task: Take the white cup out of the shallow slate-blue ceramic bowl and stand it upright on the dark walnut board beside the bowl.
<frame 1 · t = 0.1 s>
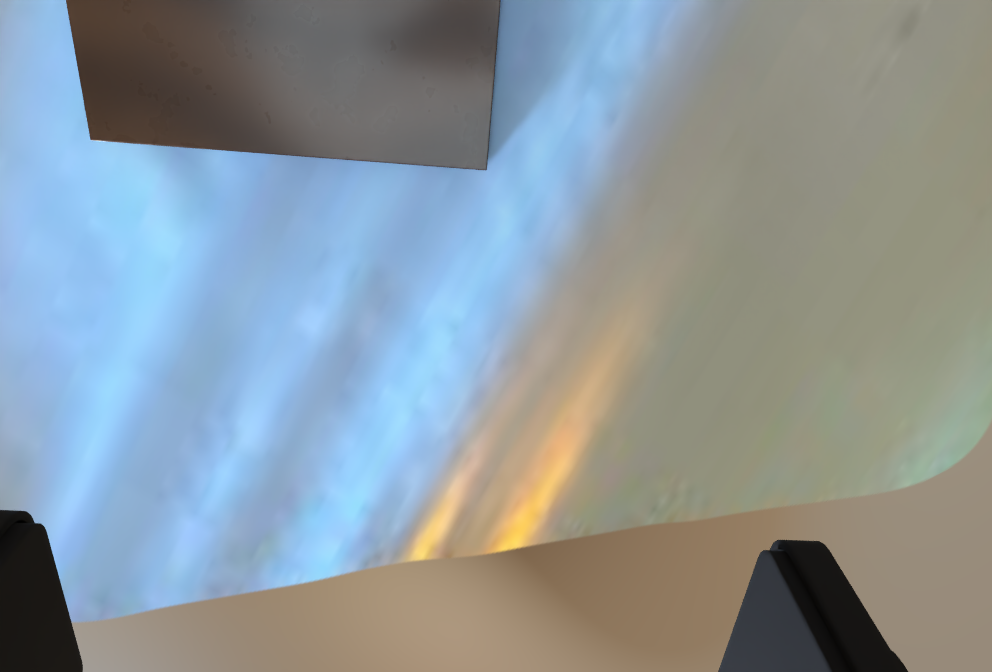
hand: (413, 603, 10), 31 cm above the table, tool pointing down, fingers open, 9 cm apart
board: (290, 5, 34), on the table
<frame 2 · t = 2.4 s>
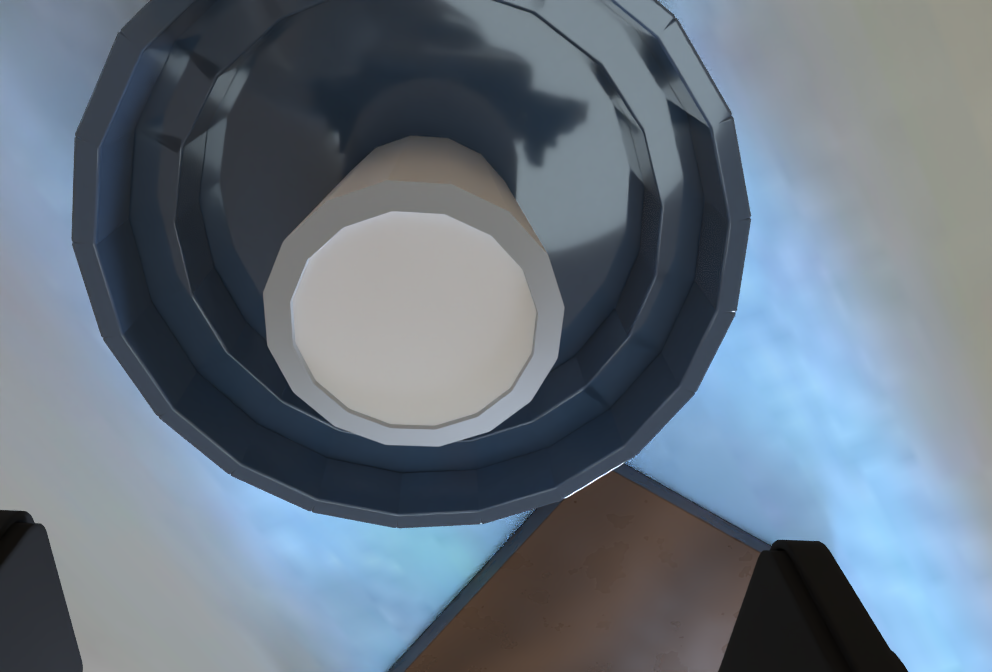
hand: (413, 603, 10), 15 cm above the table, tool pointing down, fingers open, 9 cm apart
white cup: (426, 223, 23), resting on bowl
board: (576, 659, 33), on the table
bowl: (426, 222, 23), on the table
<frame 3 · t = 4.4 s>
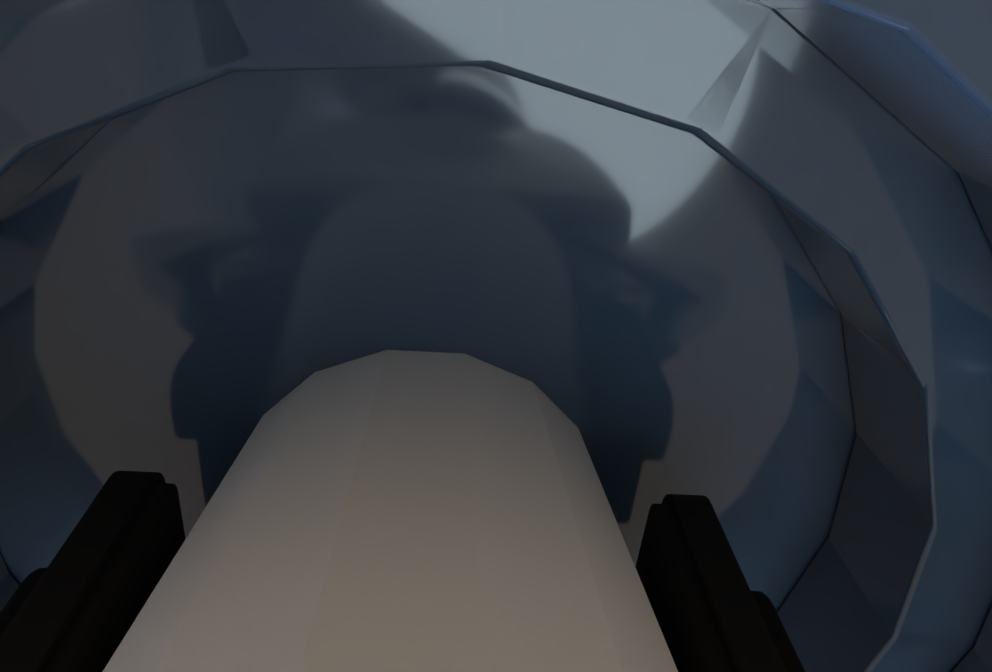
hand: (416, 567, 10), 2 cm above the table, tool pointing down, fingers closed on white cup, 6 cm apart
white cup: (420, 494, 12), resting on bowl, touching gripper
bowl: (421, 489, 12), on the table
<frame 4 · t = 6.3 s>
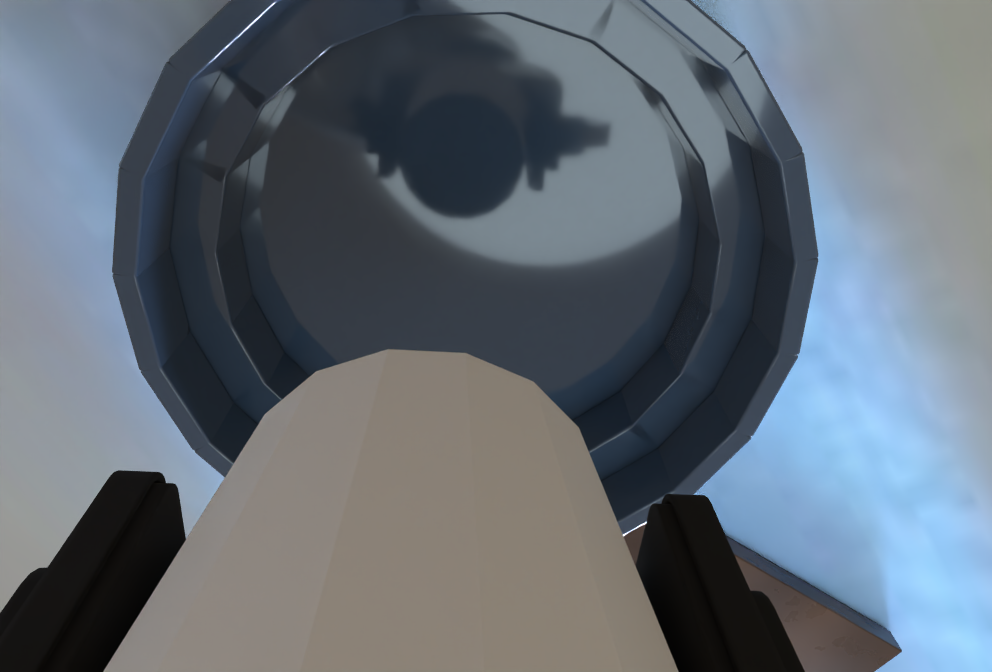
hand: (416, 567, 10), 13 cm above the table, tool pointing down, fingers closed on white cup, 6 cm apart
white cup: (421, 493, 12), point 12 cm above the table, touching gripper
bowl: (471, 252, 22), on the table
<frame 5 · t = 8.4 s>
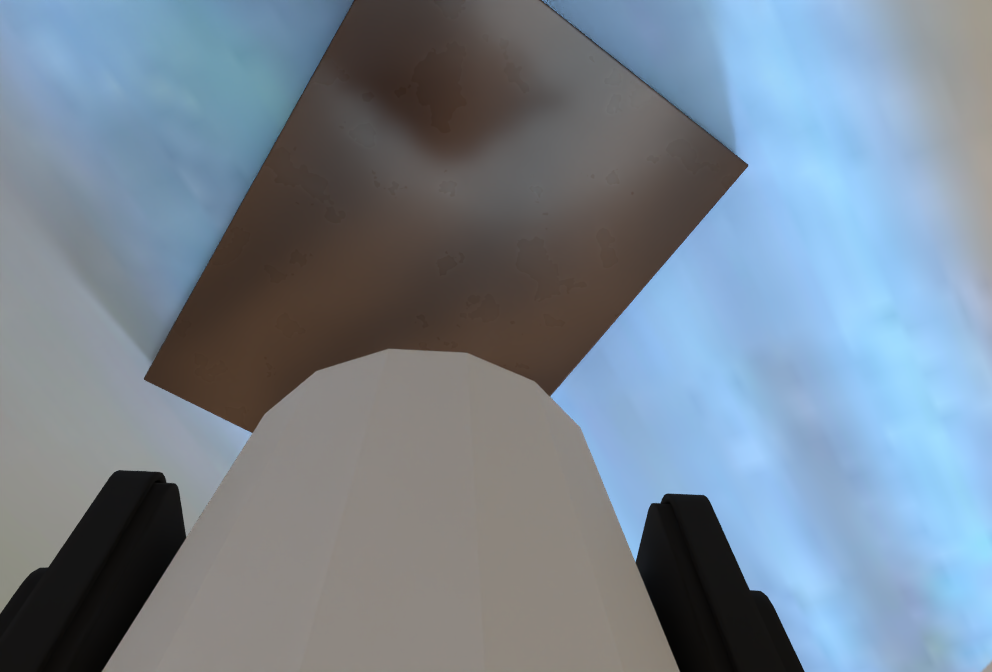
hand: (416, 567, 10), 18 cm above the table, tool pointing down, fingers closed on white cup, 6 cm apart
white cup: (422, 493, 12), point 17 cm above the table, touching gripper
board: (429, 268, 28), on the table
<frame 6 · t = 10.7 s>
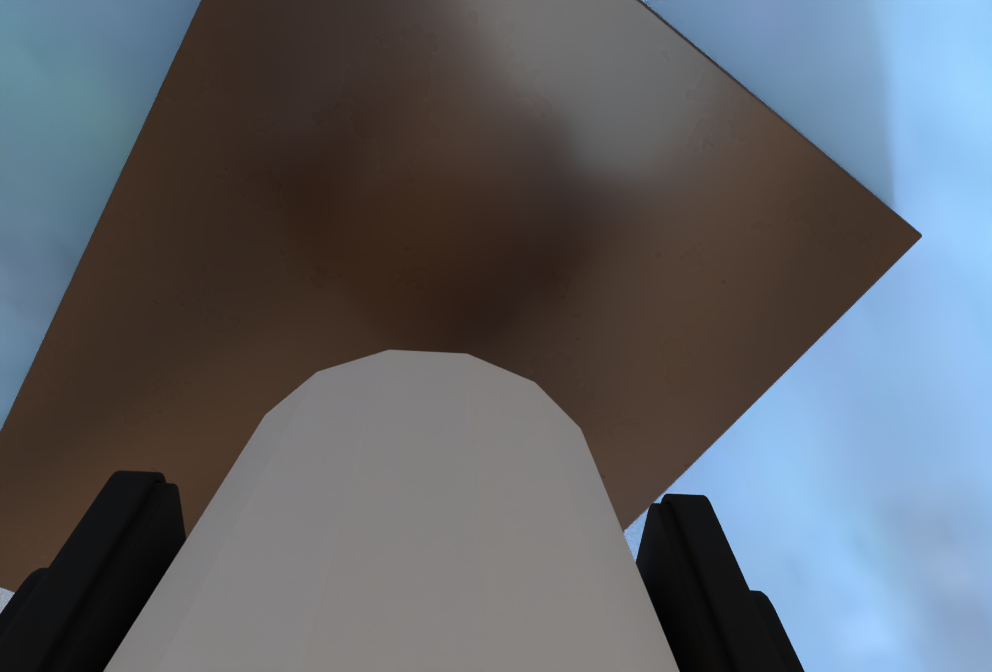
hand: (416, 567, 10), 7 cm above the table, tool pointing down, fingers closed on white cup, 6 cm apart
white cup: (422, 494, 12), point 6 cm above the table, touching gripper
board: (388, 392, 17), on the table
when the fingers open (2 cm above the table, at t = 12.4 s): white cup stays where it is, resting on board.
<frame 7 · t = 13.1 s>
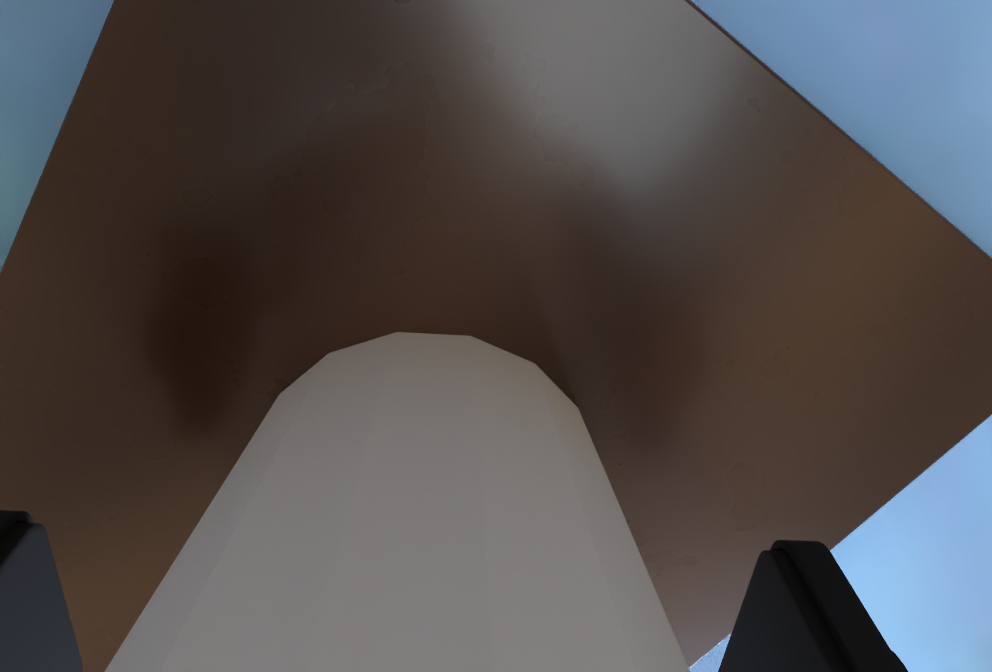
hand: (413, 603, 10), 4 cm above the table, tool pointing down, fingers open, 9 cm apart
white cup: (428, 472, 12), point 1 cm above the table, touching board
board: (374, 517, 14), on the table
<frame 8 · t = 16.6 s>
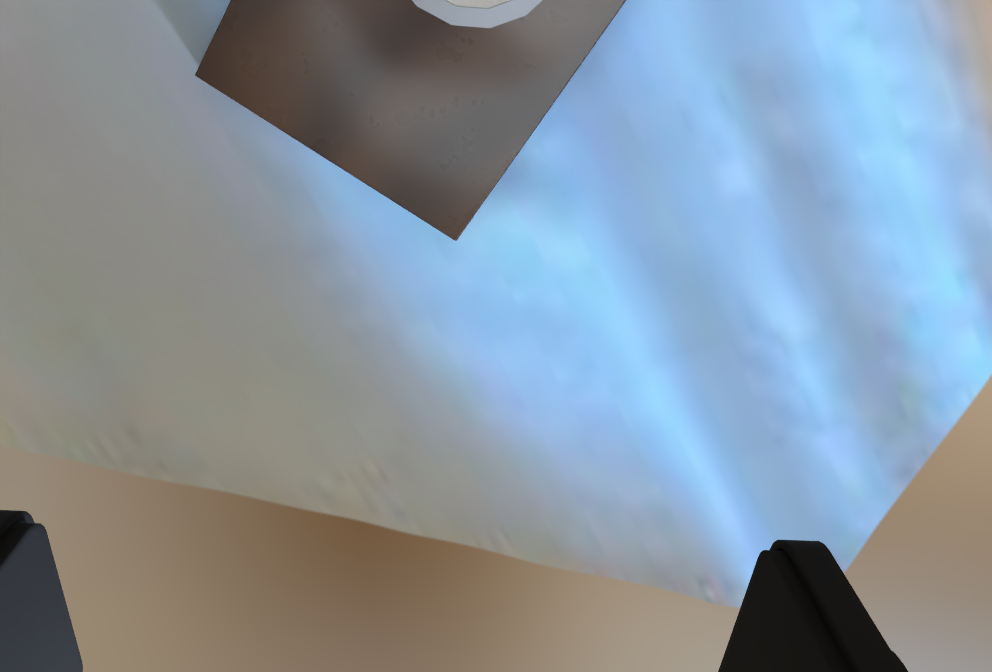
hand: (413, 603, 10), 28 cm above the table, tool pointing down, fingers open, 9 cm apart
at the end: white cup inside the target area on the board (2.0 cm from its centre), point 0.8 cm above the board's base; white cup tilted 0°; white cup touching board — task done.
